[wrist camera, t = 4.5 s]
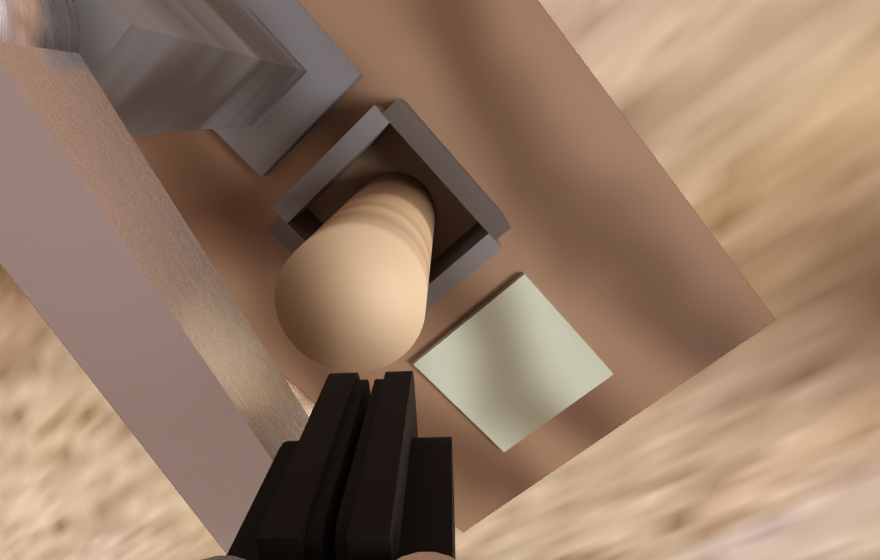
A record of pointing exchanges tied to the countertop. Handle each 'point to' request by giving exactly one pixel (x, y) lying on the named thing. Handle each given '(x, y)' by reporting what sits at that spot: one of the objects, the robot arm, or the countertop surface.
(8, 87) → the locking bar
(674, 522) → the countertop surface
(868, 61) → the countertop surface
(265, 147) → the eye board
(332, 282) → the oak peg
